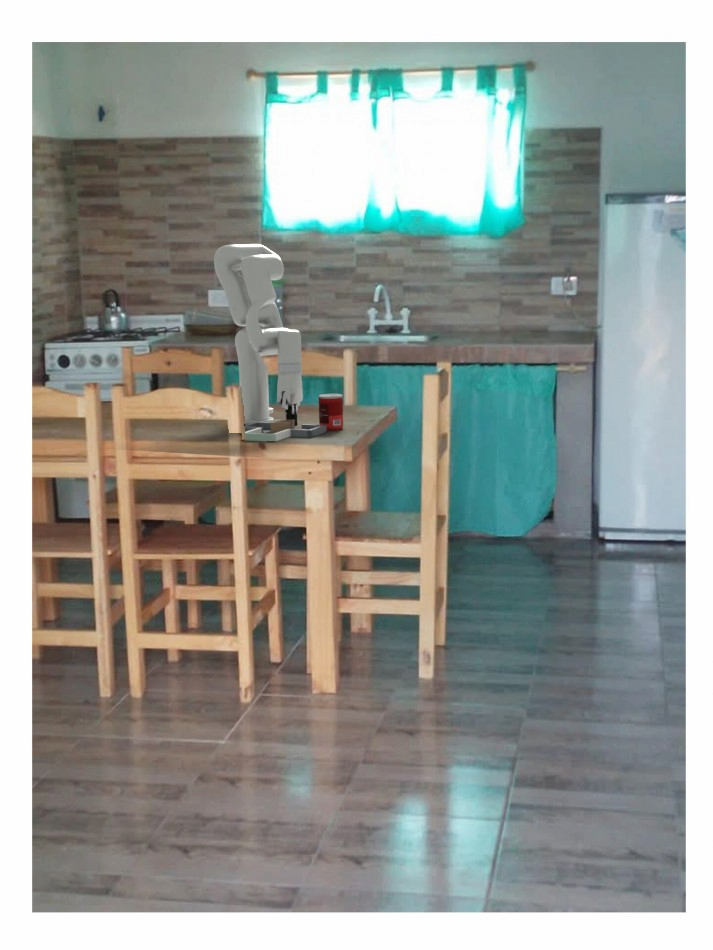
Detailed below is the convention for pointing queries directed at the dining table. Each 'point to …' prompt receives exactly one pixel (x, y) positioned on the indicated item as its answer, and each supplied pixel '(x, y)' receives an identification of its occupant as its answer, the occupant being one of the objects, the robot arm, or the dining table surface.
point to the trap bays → (306, 430)
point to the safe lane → (266, 435)
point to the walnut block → (281, 425)
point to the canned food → (331, 411)
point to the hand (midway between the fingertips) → (291, 425)
